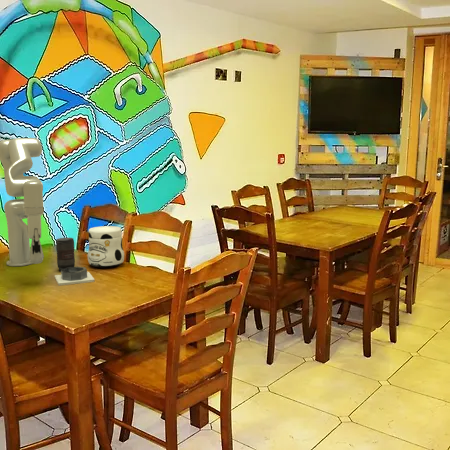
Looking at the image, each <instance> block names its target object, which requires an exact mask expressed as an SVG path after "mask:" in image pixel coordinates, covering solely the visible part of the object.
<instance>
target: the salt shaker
mask: <svg viewBox="0 0 450 450" xmlns="http://www.w3.org/2000/svg"><path fill="white" fill-rule="evenodd" d="M39 236H40V235H39ZM33 238H35V237H33ZM30 240H31V244H30V256H29V258H30V260H31V262H32V263H33V264H32V265H34V264H35V265H36V264H41V263H42V262H43V261H44V258H45V256H44V252H43V247H42V243H41V242H40V249H41V254H40V252H38V253H35V250H34V254H33V251H32V245H33V239H32V238H31V239H30Z"/></svg>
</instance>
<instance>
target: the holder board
mask: <svg viewBox="0 0 450 450" xmlns="http://www.w3.org/2000/svg"><path fill="white" fill-rule="evenodd" d="M54 278H55V281H56V283H57V285H58V286H68V285H78V284H86V283H94V282H95V278H94V276H93V275H92V274H91V273H90V272H89V271H87V278H84V279H82V280H75V281H68V280H62V278H61V274H55V275H54Z"/></svg>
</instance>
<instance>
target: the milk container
mask: <svg viewBox="0 0 450 450" xmlns="http://www.w3.org/2000/svg"><path fill="white" fill-rule="evenodd" d="M122 234H123V233H122V227H120V226H114V225H113V226H111V225H106V226H105V225H103V226H100V225H99V226H94V227H90V228H89V229H88V251H87V261H88V263H89V265H90V266H92V267H95V268H105V269H106V268H113V267H117V266H120V265H122V264H123V263H124V261H125V251H124V249H123V236H122Z"/></svg>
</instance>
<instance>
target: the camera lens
mask: <svg viewBox="0 0 450 450" xmlns="http://www.w3.org/2000/svg"><path fill="white" fill-rule="evenodd" d="M55 240H56V242H55V248H56V265H57V268H58V271H59V272H60V273H61V269H64V268H67V267H76V266H75V265H76V264H75V263H76V259H75V240H74V238H73V237H59V238H57V239H55Z"/></svg>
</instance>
